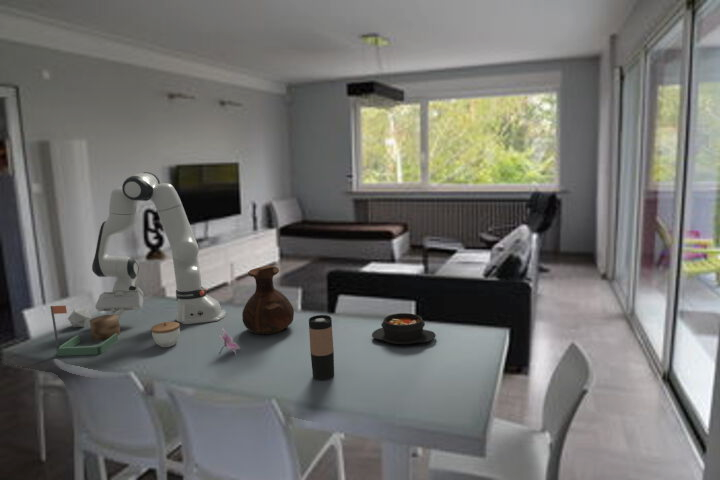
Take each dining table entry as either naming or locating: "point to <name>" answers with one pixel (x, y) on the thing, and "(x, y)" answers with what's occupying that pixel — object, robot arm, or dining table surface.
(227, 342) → the lily
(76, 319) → the white faceted block
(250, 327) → the jug
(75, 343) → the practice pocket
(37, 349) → the dining table surface
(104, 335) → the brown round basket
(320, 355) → the travel mug
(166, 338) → the lidded jar
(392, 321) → the casserole
